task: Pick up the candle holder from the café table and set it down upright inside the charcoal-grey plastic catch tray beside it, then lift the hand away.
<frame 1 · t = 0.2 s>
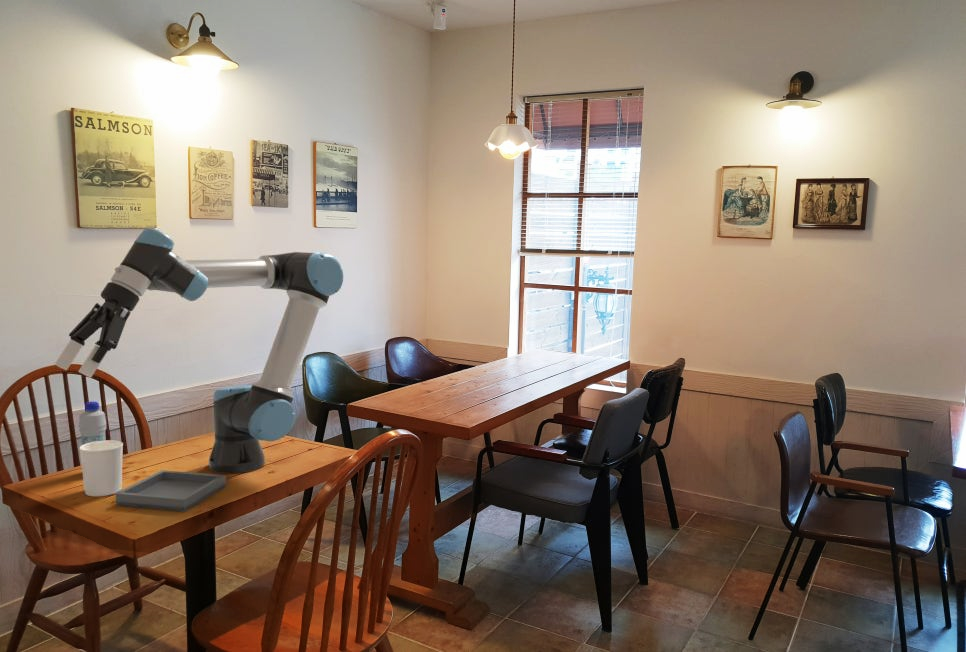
hand: (72, 371, 160), 35 cm above the table, tool tilted 35°, fingers open, 13 cm apart
candle holder: (103, 491, 186), on the table
catch tray: (173, 495, 184), on the table
bottle: (95, 473, 200), on the table
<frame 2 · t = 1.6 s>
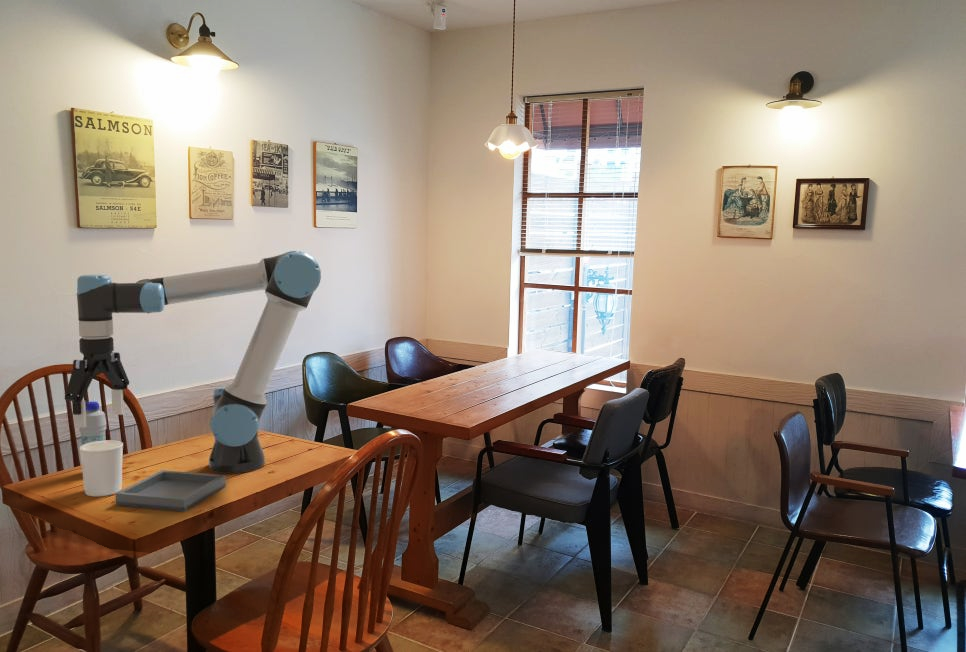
hand: (99, 420, 184), 18 cm above the table, tool pointing down, fingers open, 13 cm apart
nothing on the table moved.
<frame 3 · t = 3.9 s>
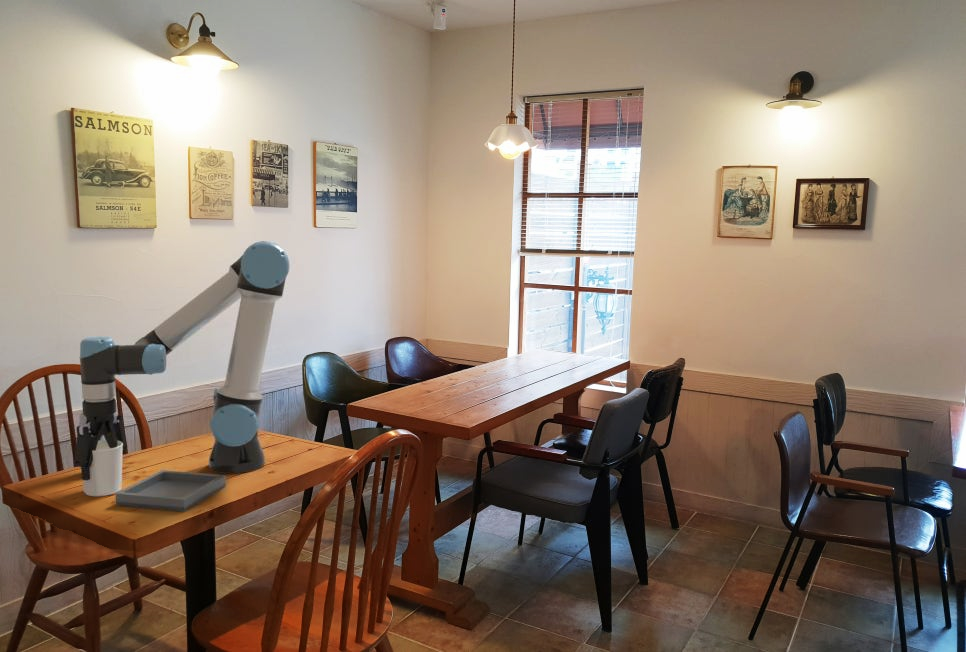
hand: (103, 485, 186), 2 cm above the table, tool pointing down, fingers closed on candle holder, 9 cm apart
candle holder: (103, 491, 186), on the table, touching gripper
everything else where it was.
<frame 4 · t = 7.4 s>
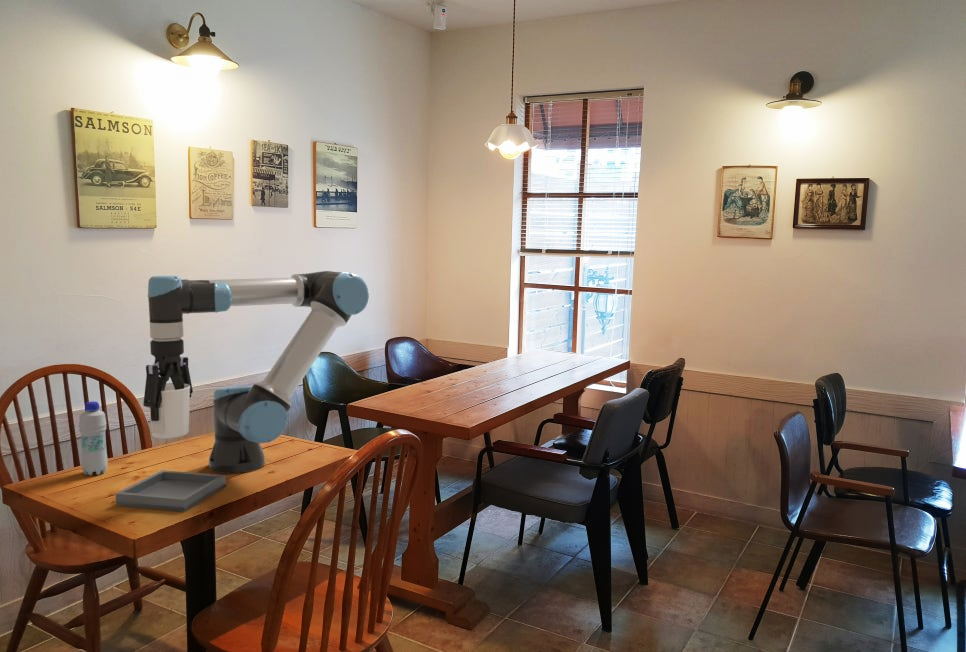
hand: (170, 428, 182), 17 cm above the table, tool pointing down, fingers closed on candle holder, 9 cm apart
candle holder: (170, 434, 182), point 16 cm above the table, touching gripper
everything else where it was.
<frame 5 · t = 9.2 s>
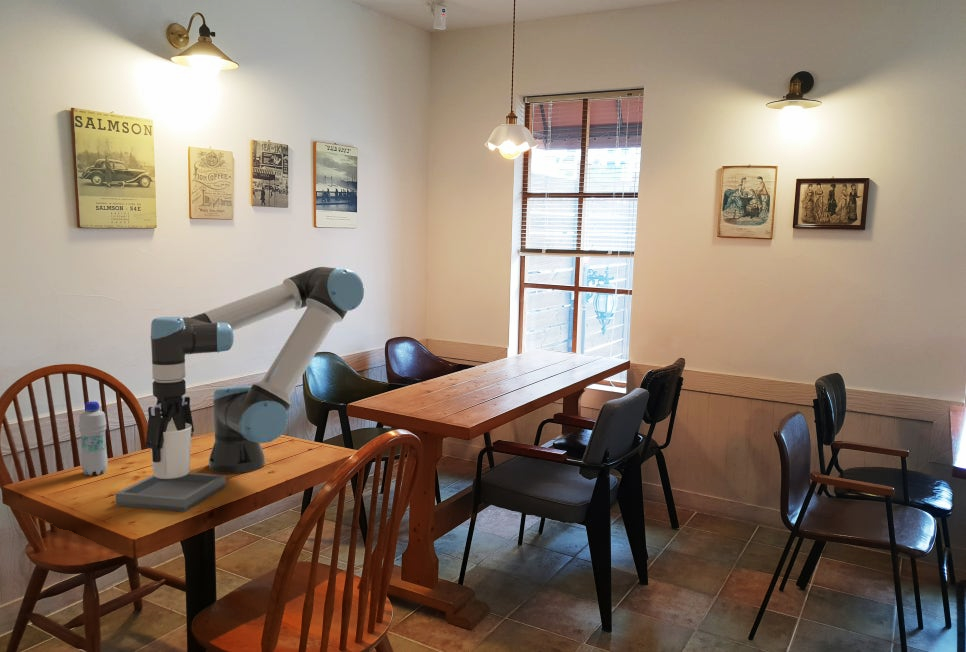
hand: (171, 467, 183), 7 cm above the table, tool pointing down, fingers closed on candle holder, 9 cm apart
candle holder: (171, 474, 183), point 5 cm above the table, touching gripper
everything else where it was.
when the fingers open (4 cm above the table, at t = 10.8 s): candle holder drops 1 cm, resting on catch tray.
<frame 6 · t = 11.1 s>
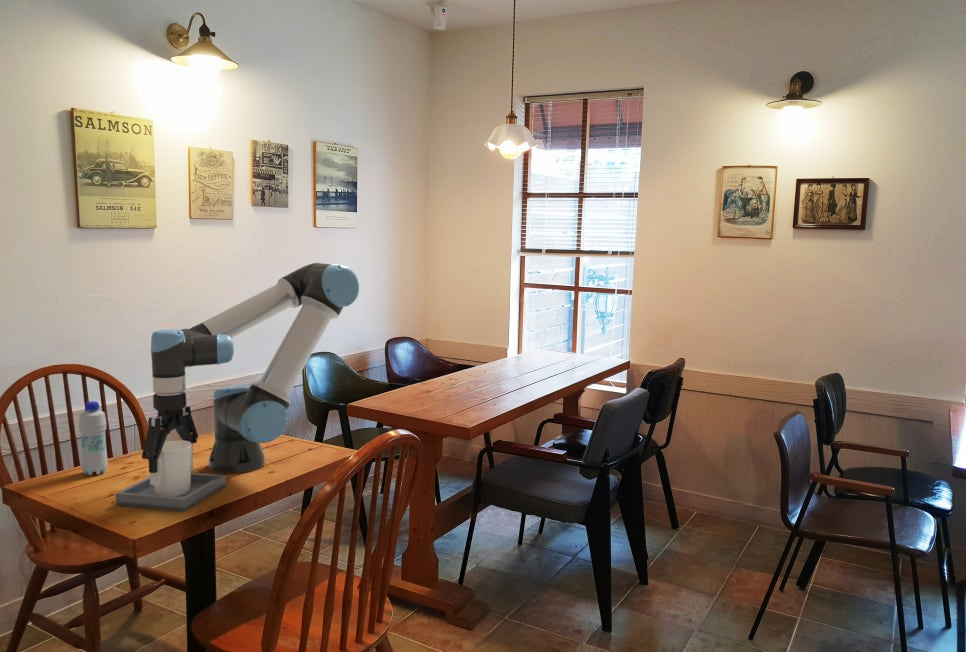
hand: (172, 476, 183), 5 cm above the table, tool pointing down, fingers open, 12 cm apart
candle holder: (172, 492, 184), point 1 cm above the table, touching catch tray
everything else where it was.
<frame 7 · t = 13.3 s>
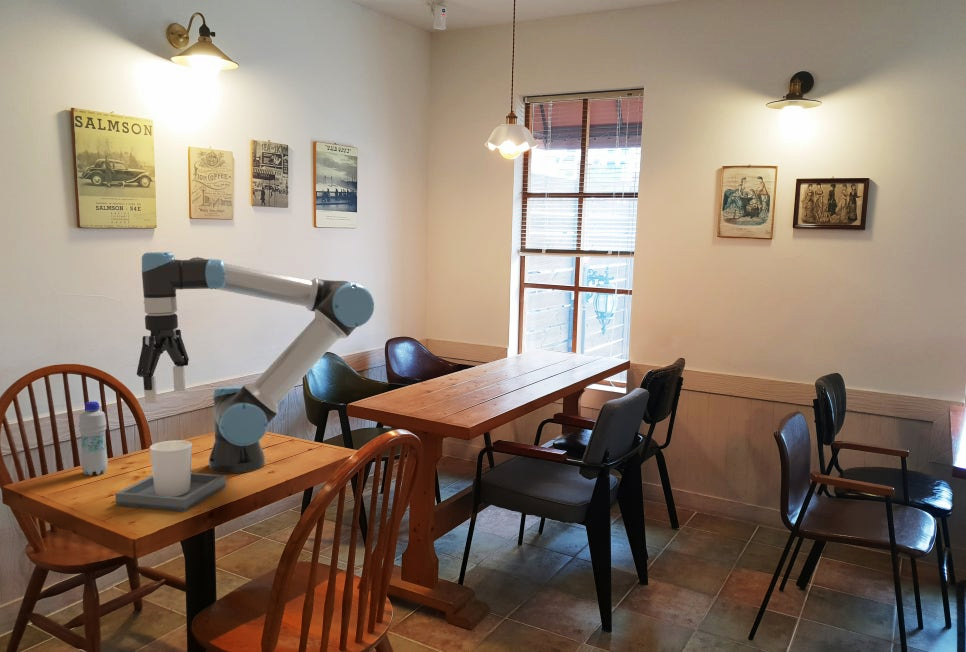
hand: (165, 396, 186), 24 cm above the table, tool pointing down, fingers open, 13 cm apart
nothing on the table moved.
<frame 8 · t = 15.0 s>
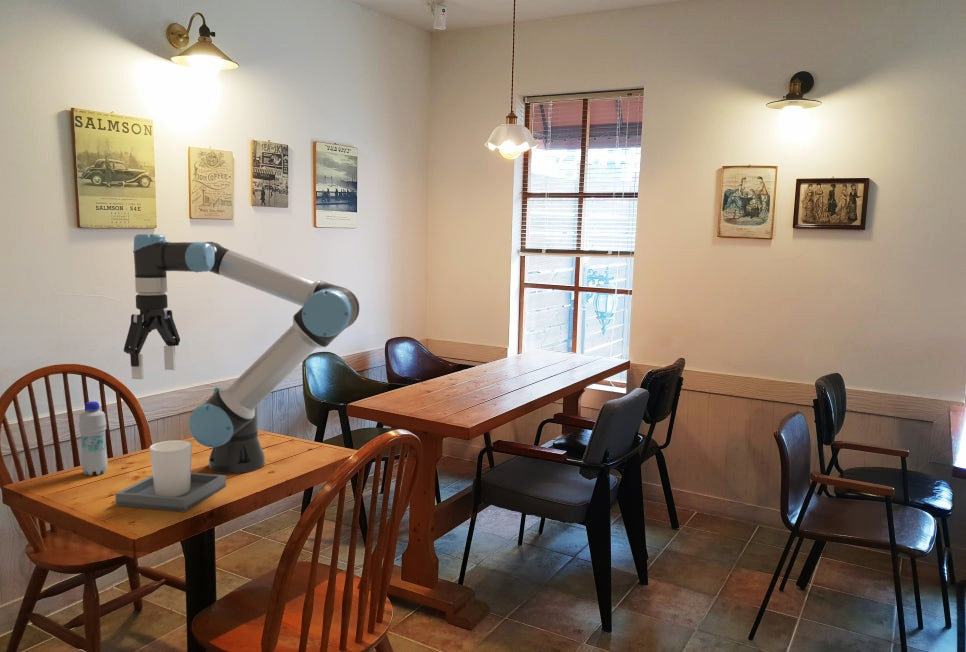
hand: (154, 374, 192), 29 cm above the table, tool pointing down, fingers open, 13 cm apart
nothing on the table moved.
at the end: candle holder inside the target area on the catch tray (0.1 cm from its centre), point 0.8 cm above the catch tray's base; candle holder tilted 0°; the gripper is holding nothing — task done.
